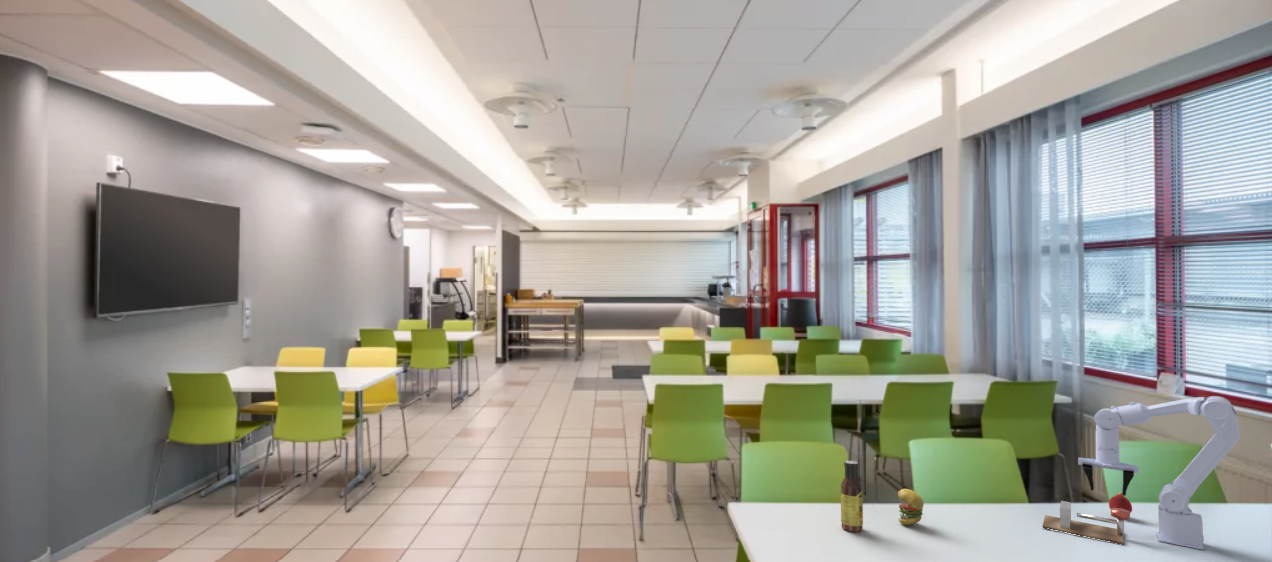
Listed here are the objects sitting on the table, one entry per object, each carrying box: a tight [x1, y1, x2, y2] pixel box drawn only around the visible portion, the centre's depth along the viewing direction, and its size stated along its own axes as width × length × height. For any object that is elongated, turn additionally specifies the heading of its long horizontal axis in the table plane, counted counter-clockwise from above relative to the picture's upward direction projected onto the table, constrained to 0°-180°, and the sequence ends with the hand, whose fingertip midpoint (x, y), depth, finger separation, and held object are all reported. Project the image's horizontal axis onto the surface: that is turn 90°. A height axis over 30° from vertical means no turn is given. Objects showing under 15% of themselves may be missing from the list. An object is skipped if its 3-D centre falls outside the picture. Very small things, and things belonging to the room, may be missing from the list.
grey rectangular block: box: [1059, 500, 1072, 529], centre depth 179 cm, size 2×8×6 cm, turn 142°
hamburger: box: [897, 486, 925, 526], centre depth 180 cm, size 8×7×12 cm
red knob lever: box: [1076, 508, 1131, 537], centre depth 174 cm, size 12×4×7 cm, turn 52°
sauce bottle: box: [840, 460, 864, 533], centre depth 177 cm, size 6×6×20 cm
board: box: [1041, 514, 1124, 546], centre depth 177 cm, size 19×12×1 cm, turn 52°
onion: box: [1108, 491, 1133, 514], centre depth 188 cm, size 6×6×8 cm
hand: (1107, 492), depth 181 cm, fingers open, 7 cm apart
